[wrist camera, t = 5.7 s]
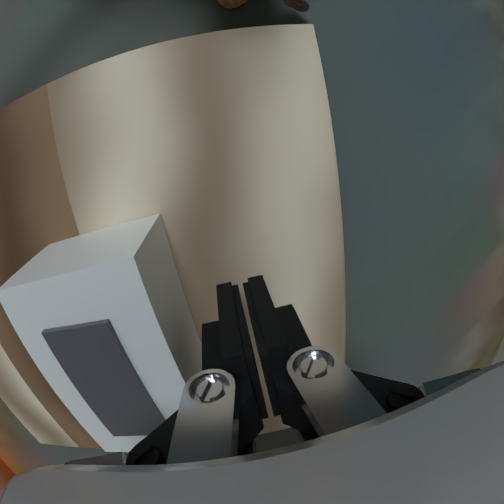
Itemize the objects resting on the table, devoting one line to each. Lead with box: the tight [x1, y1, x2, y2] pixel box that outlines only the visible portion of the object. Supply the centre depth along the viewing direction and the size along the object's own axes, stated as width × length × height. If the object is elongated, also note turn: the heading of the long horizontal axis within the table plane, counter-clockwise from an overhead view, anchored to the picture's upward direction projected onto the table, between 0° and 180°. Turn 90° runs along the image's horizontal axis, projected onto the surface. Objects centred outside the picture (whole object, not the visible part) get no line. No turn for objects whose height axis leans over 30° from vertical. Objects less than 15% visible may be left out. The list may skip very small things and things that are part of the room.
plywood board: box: [0, 24, 346, 448], centre depth 12 cm, size 22×20×2 cm
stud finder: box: [0, 213, 202, 452], centre depth 10 cm, size 5×8×4 cm, turn 10°
